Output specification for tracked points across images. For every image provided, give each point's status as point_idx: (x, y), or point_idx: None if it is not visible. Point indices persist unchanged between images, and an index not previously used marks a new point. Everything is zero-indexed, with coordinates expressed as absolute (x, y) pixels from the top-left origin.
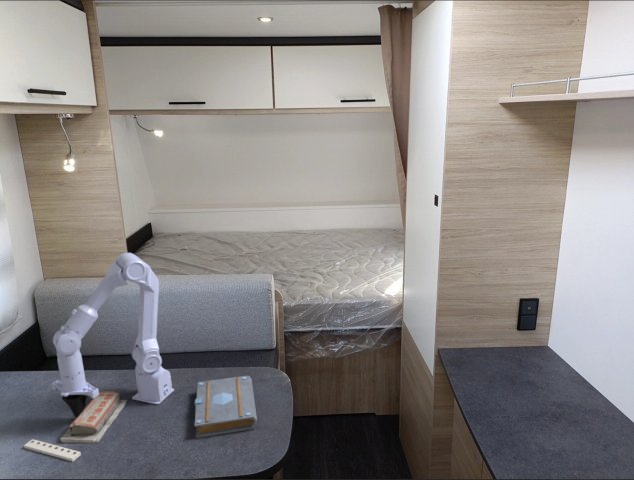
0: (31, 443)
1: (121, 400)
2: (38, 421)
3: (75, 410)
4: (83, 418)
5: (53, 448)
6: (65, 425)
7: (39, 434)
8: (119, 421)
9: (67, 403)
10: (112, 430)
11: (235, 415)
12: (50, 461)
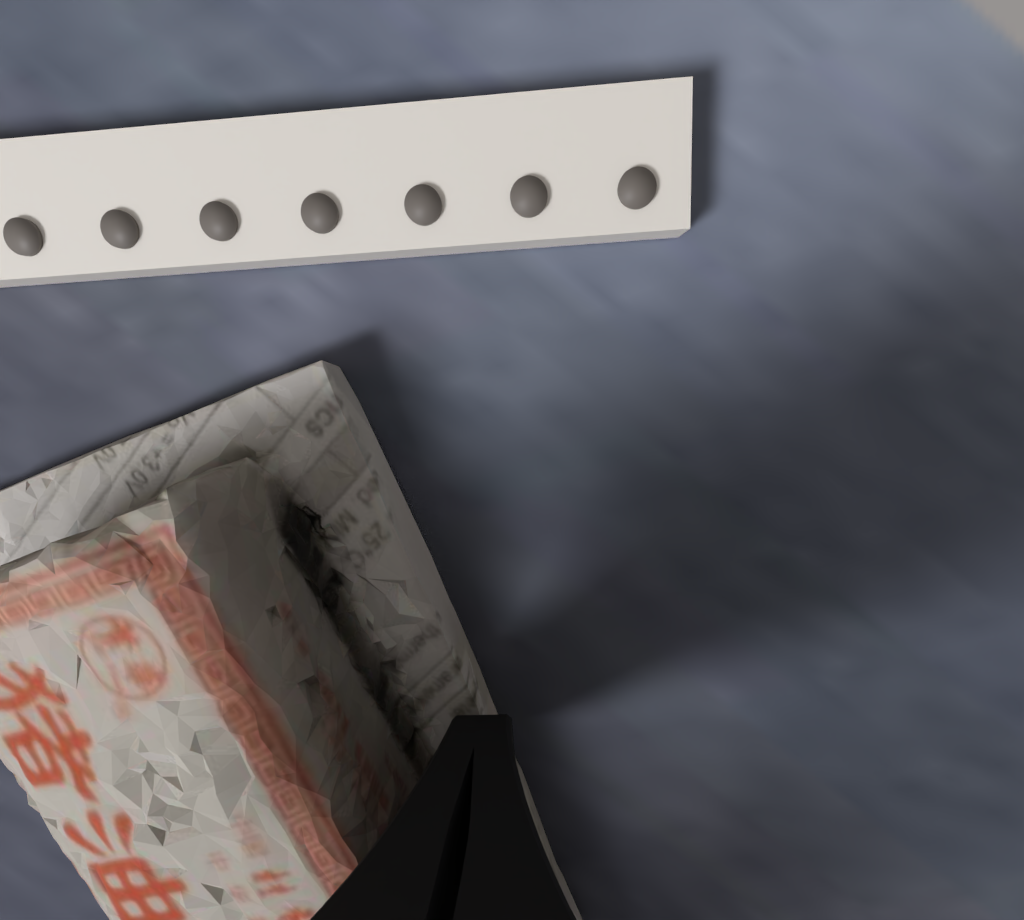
0: (621, 152)
1: None
2: (946, 538)
3: (429, 800)
4: (126, 701)
5: (248, 200)
6: (562, 589)
7: (722, 370)
8: None
9: (544, 916)
10: None
11: None
12: (137, 55)
